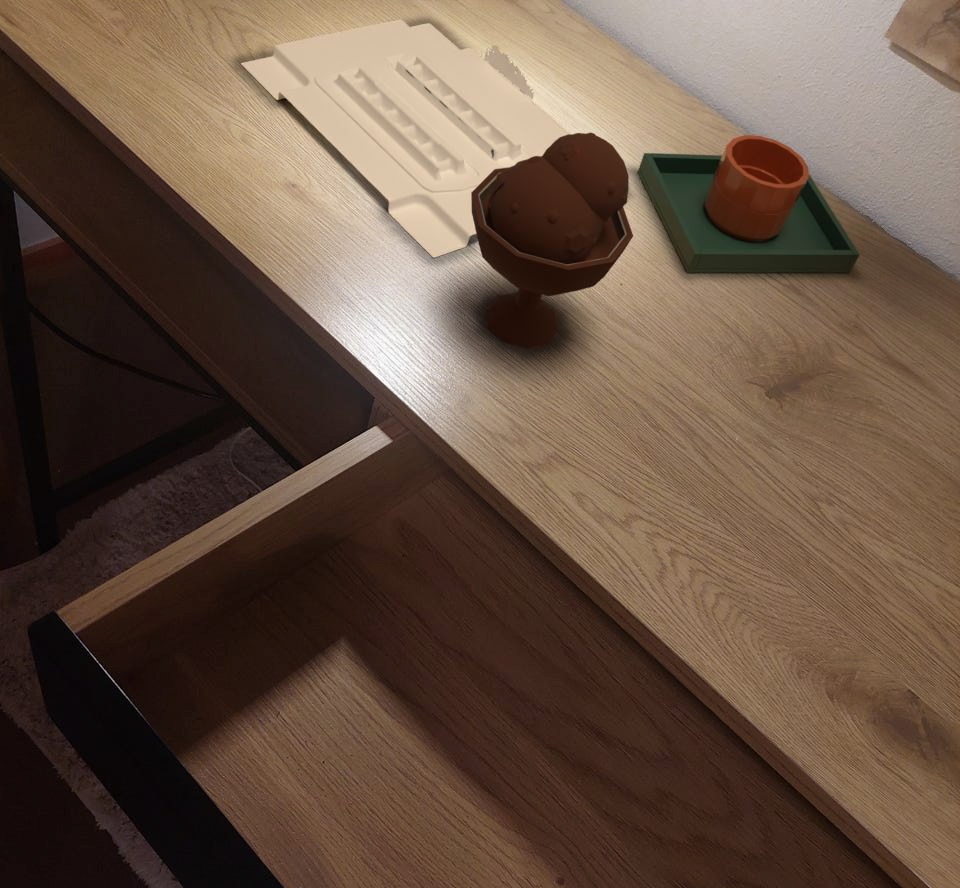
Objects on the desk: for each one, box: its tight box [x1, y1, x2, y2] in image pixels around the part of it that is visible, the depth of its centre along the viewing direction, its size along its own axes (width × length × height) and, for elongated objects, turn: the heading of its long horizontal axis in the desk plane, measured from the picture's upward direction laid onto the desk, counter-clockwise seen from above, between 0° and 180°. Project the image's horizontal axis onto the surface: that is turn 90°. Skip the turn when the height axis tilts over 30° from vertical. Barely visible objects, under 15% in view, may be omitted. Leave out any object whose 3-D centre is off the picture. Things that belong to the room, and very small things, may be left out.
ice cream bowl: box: [471, 132, 634, 349], centre depth 73 cm, size 11×11×15 cm
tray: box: [240, 18, 571, 259], centre depth 90 cm, size 20×28×4 cm
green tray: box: [637, 152, 861, 274], centre depth 91 cm, size 15×13×2 cm
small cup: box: [705, 134, 810, 241], centre depth 89 cm, size 7×7×6 cm
